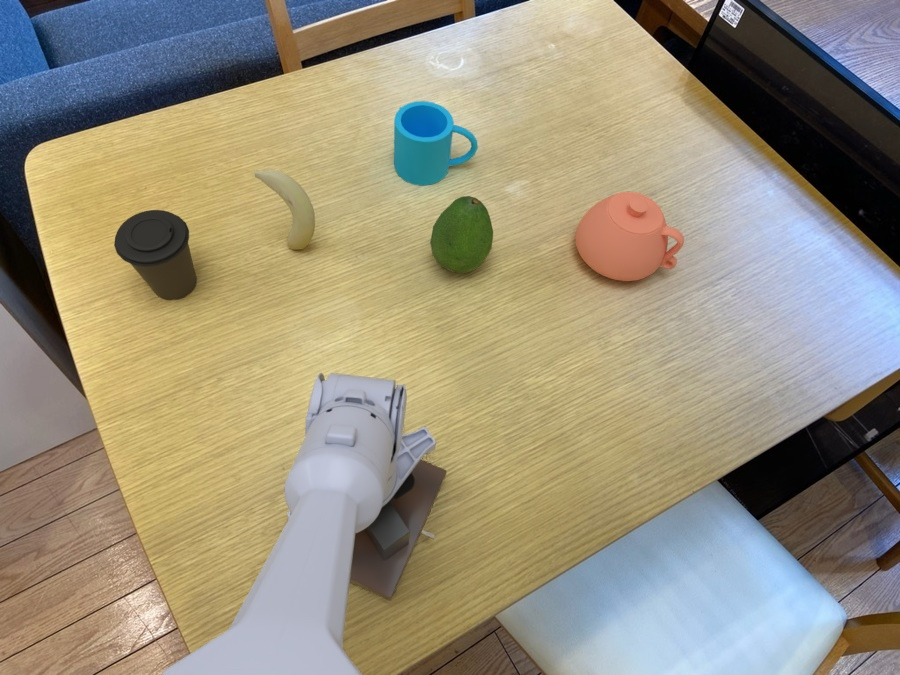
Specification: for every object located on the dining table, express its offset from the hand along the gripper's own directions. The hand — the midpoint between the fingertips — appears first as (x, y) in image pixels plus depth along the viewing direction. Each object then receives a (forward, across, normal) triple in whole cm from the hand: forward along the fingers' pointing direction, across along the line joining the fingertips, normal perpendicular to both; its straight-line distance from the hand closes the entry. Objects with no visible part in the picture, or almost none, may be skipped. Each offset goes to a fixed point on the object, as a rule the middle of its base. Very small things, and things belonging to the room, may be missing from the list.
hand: (367, 504), depth 64 cm
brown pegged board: (+3, 0, 0) cm, 3 cm away
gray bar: (+1, 0, 0) cm, 1 cm away
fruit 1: (+3, -11, -36) cm, 38 cm away
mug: (+3, -35, -38) cm, 52 cm away
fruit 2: (+3, -28, -22) cm, 35 cm away
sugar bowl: (+3, -48, -10) cm, 49 cm away
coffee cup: (+3, +5, -38) cm, 39 cm away
